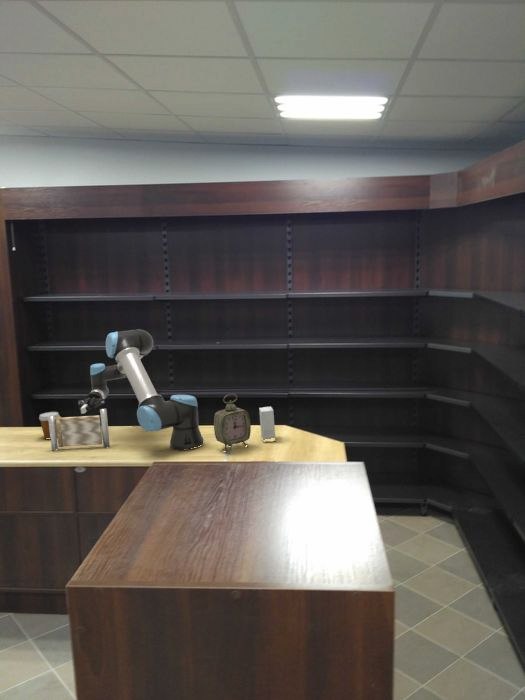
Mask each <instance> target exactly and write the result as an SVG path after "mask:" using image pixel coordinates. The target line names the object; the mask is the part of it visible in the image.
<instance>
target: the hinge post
mask: <svg viewBox="0 0 525 700" xmlns="http://www.w3.org/2000/svg"><path fill="white" fill-rule="evenodd" d="M99 413H100V415H99V417H100V425H101V436H102V446H103V449H108V448H110V447H111V445H110V437H109V436H110V434H109V433H110V432H109V424H108V411H107V408H105V407H104V408H100V409H99ZM107 447H108V448H107Z"/></svg>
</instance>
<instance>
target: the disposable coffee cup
mask: <svg viewBox="0 0 525 700" xmlns="http://www.w3.org/2000/svg"><path fill="white" fill-rule="evenodd" d="M48 416H55V417H58V416H60V414H59V412H58V411H49V412H44V413H40V414H39V417H38V419H39V421H40V425H41V429H42V433H43V436H44V439H45V438H50V430H49V421H48ZM55 424H56V419H55ZM56 434H57V428H56Z"/></svg>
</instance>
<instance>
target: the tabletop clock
mask: <svg viewBox="0 0 525 700" xmlns="http://www.w3.org/2000/svg"><path fill="white" fill-rule="evenodd" d="M229 396H234V397H235V399H233V400H232V399H230V400H229V401H225V399H226V398H227V397H229ZM237 400H238V395H237V394H235V393H228V394H226V395H225V396H224V397H223V399H222V401H223V403H224V404H226V406H225V408H224V409H221V410H218V411H217V412H215V413H214V415H213V417H214V418H213V432H214V436H215V439H216V441H218V442H219V443H222V444H224V449H223V451H227V452H228V450H227V446H228V447H229V446H232V447H233V445H237V444H242V443H243V445H245V446H246V445H248V444H247V443H245V442H246V441H248V440H249V439H250V437H251V431H252V429H251V428H252V427H251V426H252V425H251V423H252V422H251V416H250V413H249V411H247V410H245V409H242V408H240V407H237V405H236V404H234V403H235V402H236V401H237ZM223 451H222V452H223Z"/></svg>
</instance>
